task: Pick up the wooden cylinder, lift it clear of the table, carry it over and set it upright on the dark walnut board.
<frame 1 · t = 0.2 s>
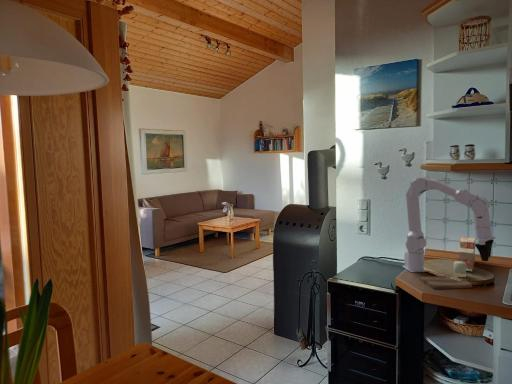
hand: (486, 258, 163), 10 cm above the counter, tool pointing down, fingers open, 7 cm apart
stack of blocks: (466, 266, 189), on the counter
cylinder: (459, 275, 174), on the counter
board: (445, 283, 165), on the counter
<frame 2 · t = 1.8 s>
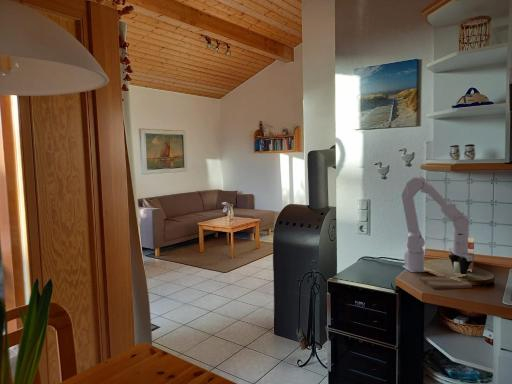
hand: (459, 272, 174), 1 cm above the counter, tool pointing down, fingers closed on cylinder, 5 cm apart
cylinder: (459, 275, 174), on the counter, touching gripper
everything else where it was.
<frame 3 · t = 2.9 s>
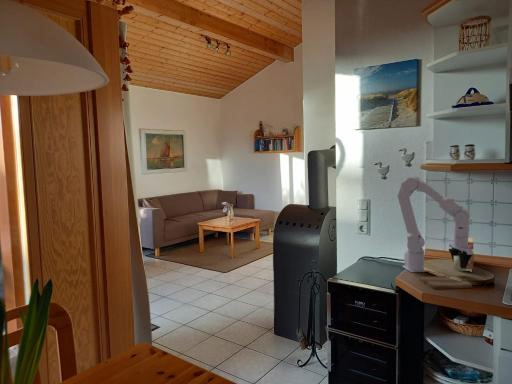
hand: (459, 266, 174), 4 cm above the counter, tool pointing down, fingers closed on cylinder, 5 cm apart
cylinder: (459, 269, 174), point 3 cm above the counter, touching gripper
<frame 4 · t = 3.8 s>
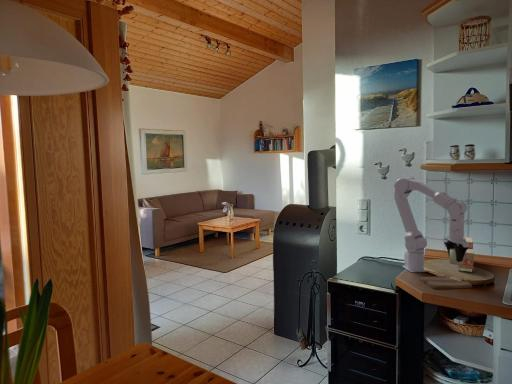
hand: (455, 259, 170), 8 cm above the counter, tool pointing down, fingers closed on cylinder, 5 cm apart
cylinder: (455, 263, 170), point 7 cm above the counter, touching gripper
everything else where it was.
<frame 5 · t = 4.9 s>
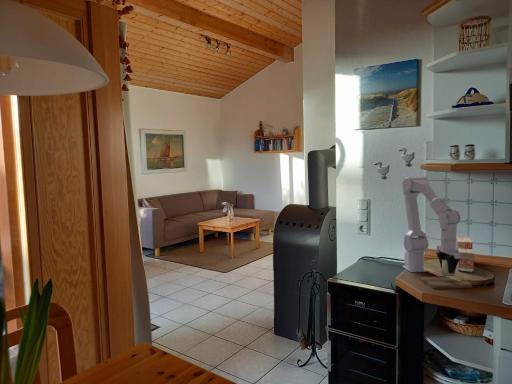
hand: (447, 271, 164), 5 cm above the counter, tool pointing down, fingers closed on cylinder, 5 cm apart
cylinder: (448, 274, 164), point 4 cm above the counter, touching gripper
when the fingers open (4 cm above the counter, at t = 5.7 s): cylinder drops 1 cm, resting on board.
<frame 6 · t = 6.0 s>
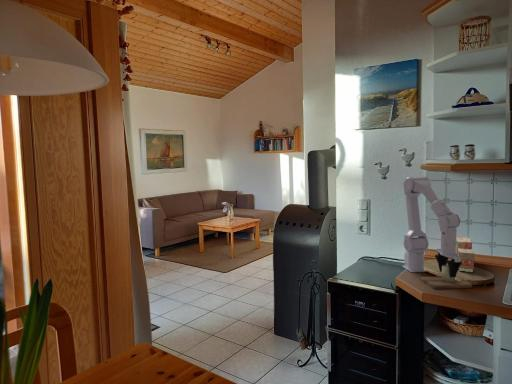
hand: (447, 274, 164), 4 cm above the counter, tool pointing down, fingers open, 7 cm apart
cylinder: (448, 280, 165), point 1 cm above the counter, touching board
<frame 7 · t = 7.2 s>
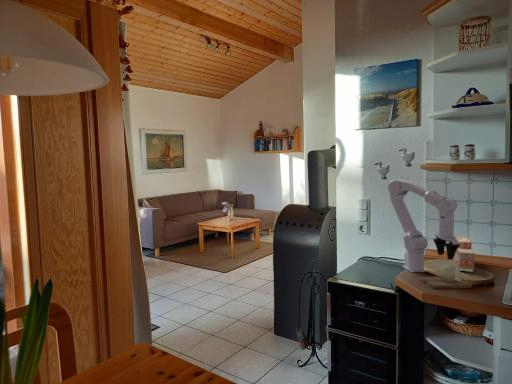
hand: (445, 256, 171), 9 cm above the counter, tool pointing down, fingers open, 7 cm apart
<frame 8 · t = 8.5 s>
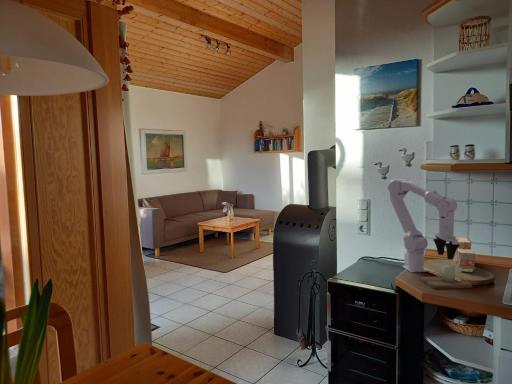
hand: (445, 256, 171), 9 cm above the counter, tool pointing down, fingers open, 7 cm apart
at the end: cylinder inside the target area on the board (1.3 cm from its centre), point 1.2 cm above the board's base; cylinder tilted 0°; the gripper is holding nothing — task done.
